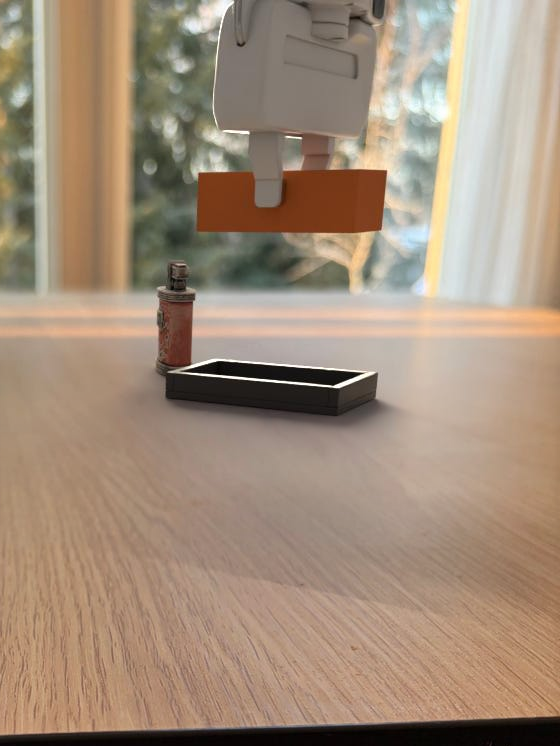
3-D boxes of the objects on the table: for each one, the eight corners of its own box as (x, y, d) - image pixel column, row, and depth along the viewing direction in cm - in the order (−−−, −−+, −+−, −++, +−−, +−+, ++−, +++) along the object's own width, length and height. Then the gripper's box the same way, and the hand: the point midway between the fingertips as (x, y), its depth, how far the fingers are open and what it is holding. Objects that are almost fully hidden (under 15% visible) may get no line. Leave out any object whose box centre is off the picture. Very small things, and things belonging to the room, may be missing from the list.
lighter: (151, 364, 106) (153, 258, 102) (184, 363, 106) (187, 258, 102) (162, 377, 99) (165, 263, 95) (198, 376, 99) (202, 263, 95)
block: (381, 230, 76) (387, 170, 75) (354, 233, 72) (359, 169, 70) (230, 229, 82) (232, 173, 81) (195, 231, 78) (197, 172, 76)
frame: (375, 397, 88) (378, 372, 87) (336, 415, 81) (339, 388, 80) (213, 382, 96) (214, 358, 95) (164, 397, 89) (165, 372, 88)
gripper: (289, -48, 61) (274, 208, 67) (395, 0, 77) (376, 204, 83) (192, -35, 65) (185, 209, 70) (313, 8, 80) (300, 204, 86)
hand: (290, 206), depth 76 cm, fingers closed on block, 6 cm apart
